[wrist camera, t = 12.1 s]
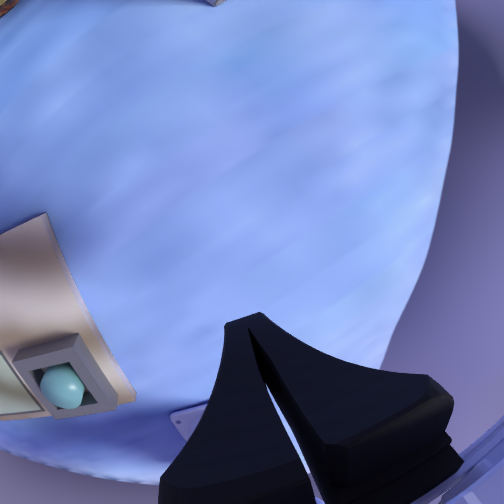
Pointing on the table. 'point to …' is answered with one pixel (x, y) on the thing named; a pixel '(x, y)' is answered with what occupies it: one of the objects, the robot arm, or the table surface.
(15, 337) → the beige flat square board
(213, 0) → the coffee box
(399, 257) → the table surface
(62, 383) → the button
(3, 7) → the sauce bottle
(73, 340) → the button housing
